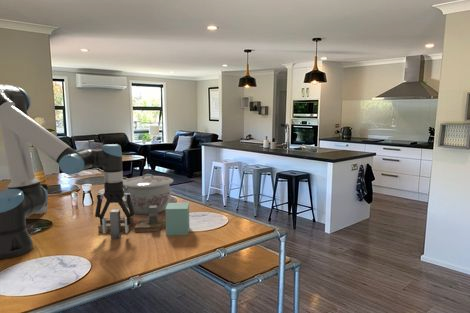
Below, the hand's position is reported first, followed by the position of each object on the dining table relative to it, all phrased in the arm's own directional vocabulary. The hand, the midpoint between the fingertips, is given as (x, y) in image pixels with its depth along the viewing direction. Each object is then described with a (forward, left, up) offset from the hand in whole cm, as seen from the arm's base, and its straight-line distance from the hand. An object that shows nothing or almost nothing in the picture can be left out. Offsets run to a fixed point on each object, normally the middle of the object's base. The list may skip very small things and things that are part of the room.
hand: (115, 232), depth 145 cm
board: (+12, -12, -2) cm, 17 cm away
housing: (+6, -26, -2) cm, 27 cm away
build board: (+12, +3, -2) cm, 13 cm away
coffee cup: (+39, +50, -3) cm, 63 cm away
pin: (0, 0, -2) cm, 2 cm away
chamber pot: (+38, -7, -3) cm, 39 cm away
